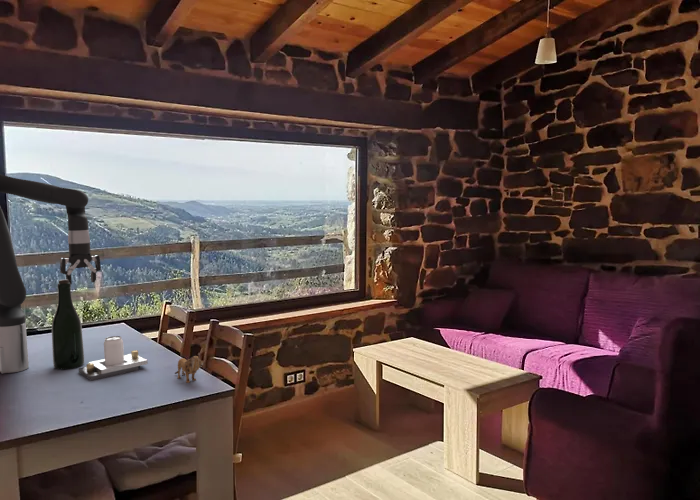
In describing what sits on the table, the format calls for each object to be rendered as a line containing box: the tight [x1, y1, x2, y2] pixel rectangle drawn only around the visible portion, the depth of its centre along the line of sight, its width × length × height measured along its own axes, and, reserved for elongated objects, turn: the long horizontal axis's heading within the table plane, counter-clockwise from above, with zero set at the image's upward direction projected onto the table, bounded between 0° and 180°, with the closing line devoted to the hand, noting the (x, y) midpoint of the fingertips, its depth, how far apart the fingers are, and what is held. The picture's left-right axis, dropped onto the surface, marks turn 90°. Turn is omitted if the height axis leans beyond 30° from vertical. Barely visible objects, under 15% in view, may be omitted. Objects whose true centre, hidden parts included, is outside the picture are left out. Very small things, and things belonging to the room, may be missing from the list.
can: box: [103, 335, 125, 367], centre depth 200 cm, size 6×6×12 cm
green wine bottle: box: [51, 278, 85, 370], centre depth 205 cm, size 10×10×33 cm
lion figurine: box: [174, 355, 204, 384], centre depth 189 cm, size 15×5×9 cm, turn 51°
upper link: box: [88, 349, 148, 374], centre depth 201 cm, size 16×13×4 cm
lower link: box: [78, 362, 139, 381], centre depth 199 cm, size 16×13×4 cm
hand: (81, 283), depth 214 cm, fingers open, 8 cm apart
